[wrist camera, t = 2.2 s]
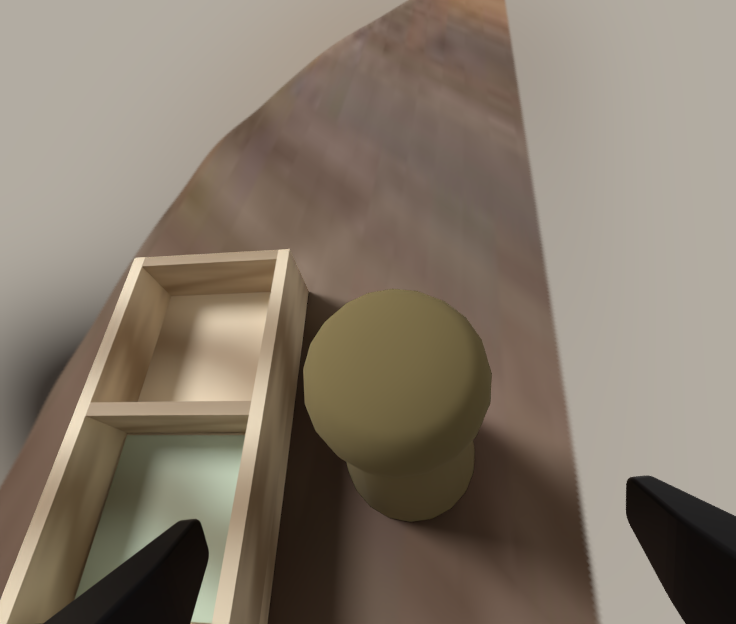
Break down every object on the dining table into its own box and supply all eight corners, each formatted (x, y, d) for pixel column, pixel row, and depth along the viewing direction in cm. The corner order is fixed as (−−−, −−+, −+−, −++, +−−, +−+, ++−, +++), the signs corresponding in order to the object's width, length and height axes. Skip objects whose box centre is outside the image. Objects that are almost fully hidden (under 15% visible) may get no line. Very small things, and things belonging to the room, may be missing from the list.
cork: (323, 435, 21) (233, 333, 11) (420, 367, 22) (414, 221, 12) (395, 553, 18) (355, 548, 8) (503, 466, 19) (577, 375, 9)
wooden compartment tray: (222, 986, 12) (144, 1150, 9) (-31, 942, 14) (-185, 1072, 10) (308, 291, 25) (289, 249, 22) (173, 297, 26) (134, 257, 23)
